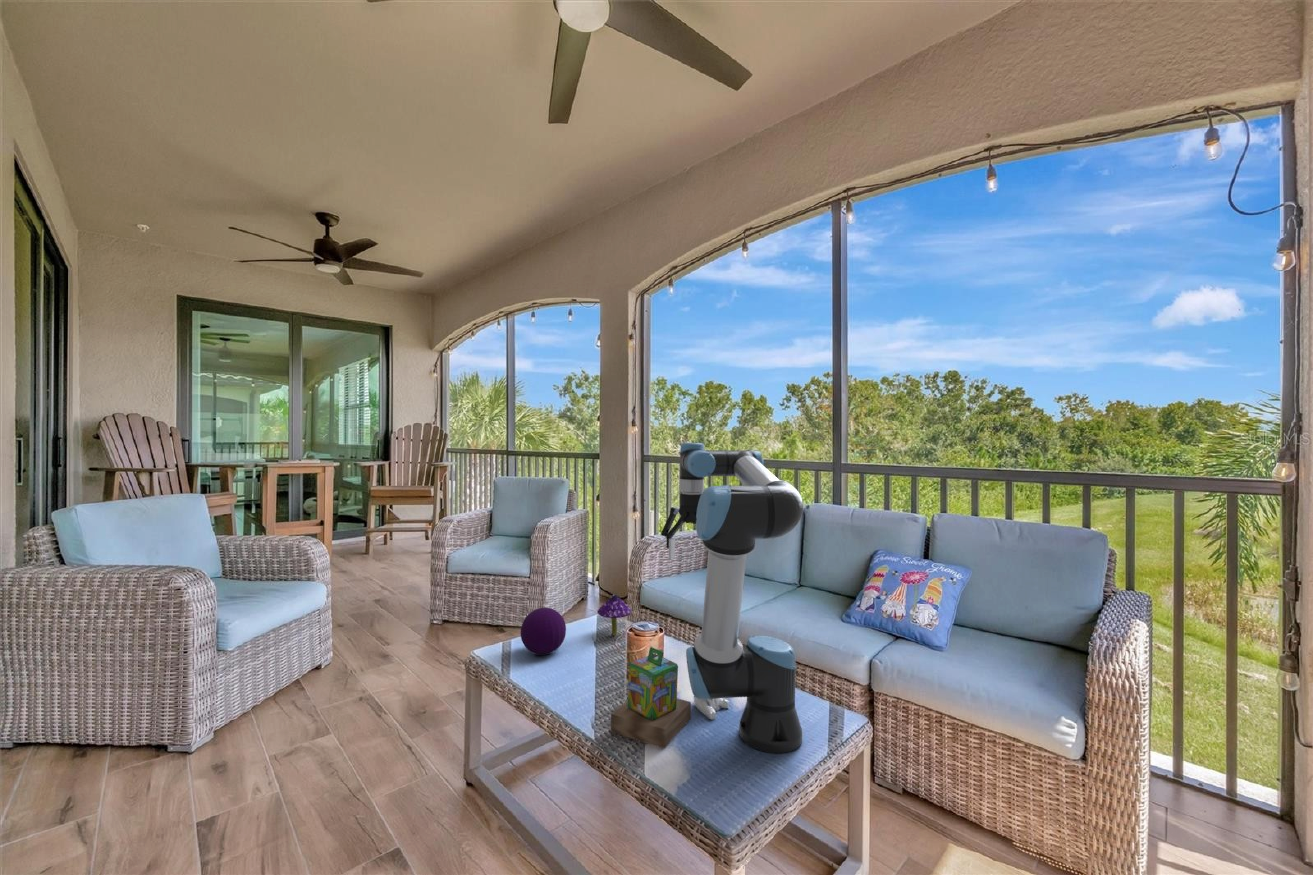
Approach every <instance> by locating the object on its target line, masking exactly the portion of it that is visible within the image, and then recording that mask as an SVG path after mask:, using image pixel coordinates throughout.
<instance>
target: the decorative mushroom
mask: <svg viewBox="0 0 1313 875" xmlns="http://www.w3.org/2000/svg"><path fill="white" fill-rule="evenodd" d="M631 613H632V609H631V608H630V606H628V605H627V604H626V602H624V600H622V599H621V598H620V597H619V596H618V595H617V594H612V595H611V596H610V598H608V599H607V600H606V601H604V602H603V604H602V605H601V606H600V607H599V608H598V610H597V614H598V616H600V617H603V618H608V619H611V635H612V636H613V637H614V636H616V635H617V634H618V624H617V623H618V620H617V619H620V618H625V617H627V616H629V615H631Z"/></svg>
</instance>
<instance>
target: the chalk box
mask: <svg viewBox="0 0 1313 875" xmlns="http://www.w3.org/2000/svg"><path fill="white" fill-rule="evenodd" d="M628 664H629V669H628V670H629V671H628V692H627V700H628V707H629V708H631V709H633V710H634V711H636V712H638V713H639V714H641V715H643V716H645V717H646V718H648V719H650V720H651V721H652V720H654V719H656V718H658V717H660V716H662V715H664V714H666V713H668V712H670V711H672V710H674V709H676V704H677V699H678V697H677V696H678V677H679V676H678V675H679V674H678V673H679V672H678V671H679V665H678V663H676V662H674V661H672V660H670V659H668V658H666V657H664V652H663V651H662V650H660V649H657V648H656V647H652V646H651V647H649V651H648V655H647V656H645V657H641V658H639V659H635V660H633V661H631V662H629V663H628Z"/></svg>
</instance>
